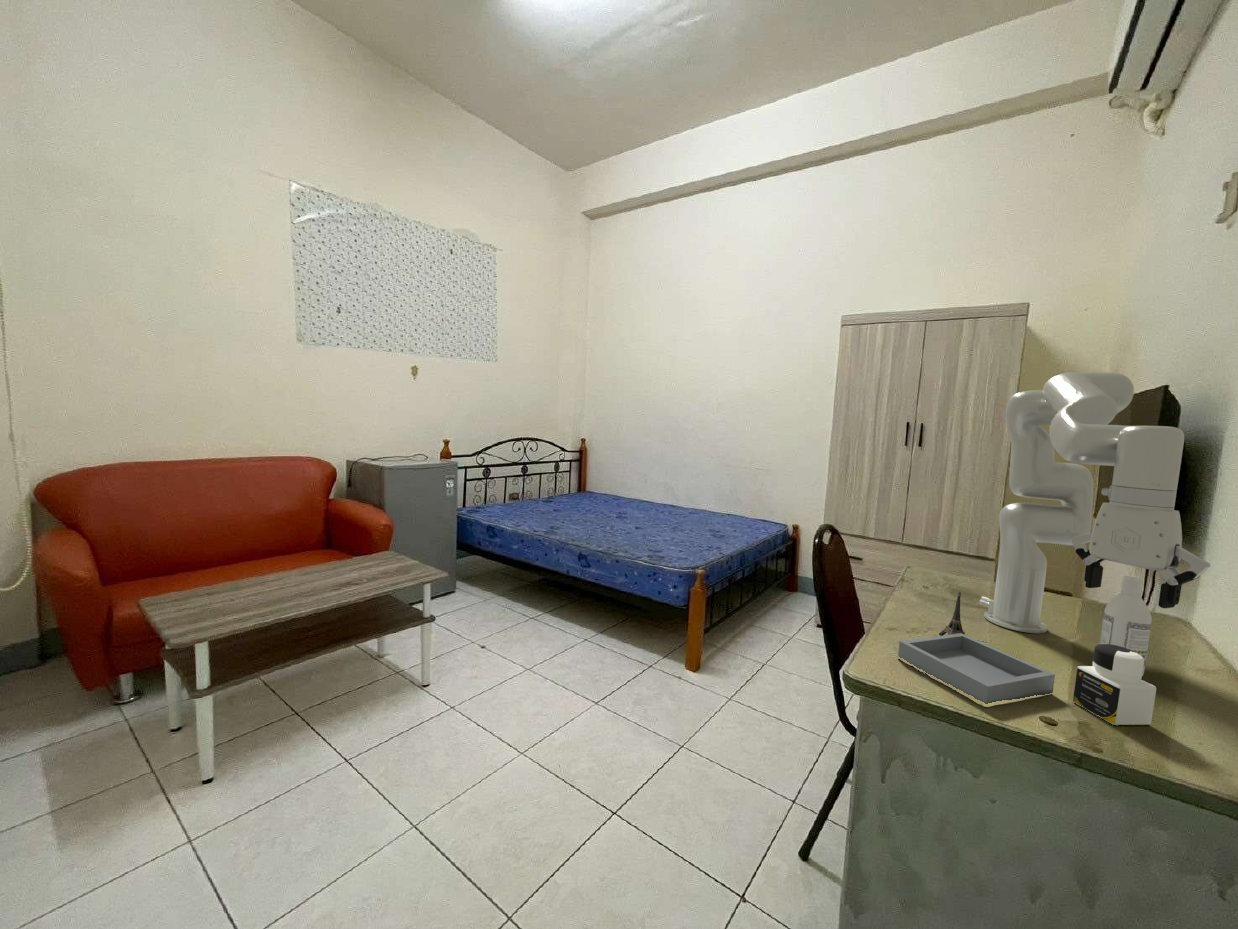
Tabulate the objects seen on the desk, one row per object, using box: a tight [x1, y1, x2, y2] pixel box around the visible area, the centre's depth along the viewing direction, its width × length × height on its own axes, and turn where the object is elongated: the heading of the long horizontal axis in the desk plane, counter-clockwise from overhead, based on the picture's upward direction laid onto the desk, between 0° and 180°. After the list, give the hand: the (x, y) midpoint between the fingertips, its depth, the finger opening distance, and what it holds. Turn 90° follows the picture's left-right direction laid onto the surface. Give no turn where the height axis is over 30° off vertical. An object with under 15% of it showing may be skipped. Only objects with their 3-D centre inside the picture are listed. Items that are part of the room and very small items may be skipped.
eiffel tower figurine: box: [938, 590, 988, 643], centre depth 112 cm, size 15×10×13 cm
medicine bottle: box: [1072, 643, 1157, 725], centre depth 85 cm, size 7×7×12 cm
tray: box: [897, 633, 1056, 704], centre depth 97 cm, size 18×18×4 cm
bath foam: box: [1099, 575, 1153, 677], centre depth 102 cm, size 7×7×20 cm
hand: (1127, 596), depth 84 cm, fingers open, 9 cm apart
